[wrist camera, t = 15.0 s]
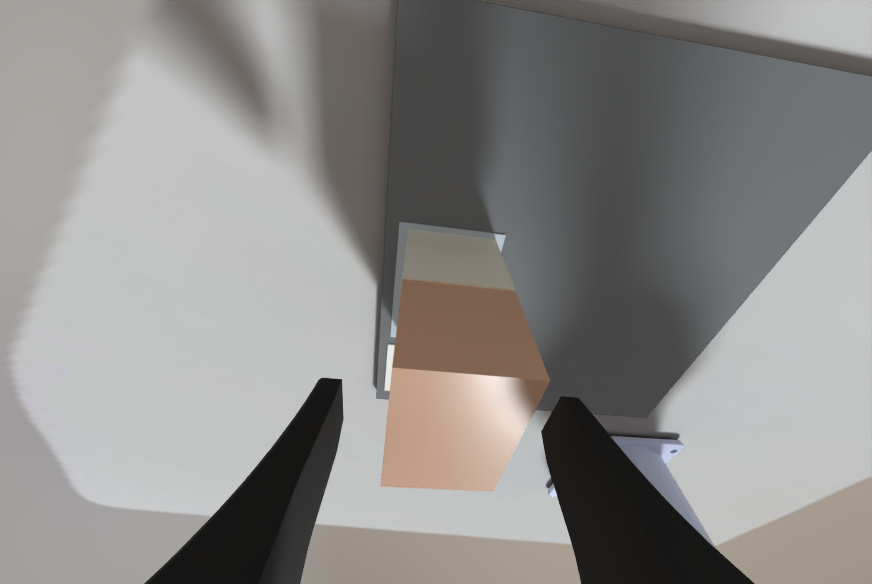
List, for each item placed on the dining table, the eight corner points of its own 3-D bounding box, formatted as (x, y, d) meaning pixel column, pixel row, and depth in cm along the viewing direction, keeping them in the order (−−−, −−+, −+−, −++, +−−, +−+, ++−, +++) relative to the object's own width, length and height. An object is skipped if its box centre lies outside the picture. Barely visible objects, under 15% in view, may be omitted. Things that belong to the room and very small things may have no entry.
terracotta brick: (478, 397, 15) (493, 491, 12) (391, 391, 14) (380, 486, 11) (515, 291, 12) (550, 380, 8) (402, 278, 11) (392, 367, 8)
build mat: (641, 410, 23) (647, 419, 23) (377, 390, 22) (375, 400, 21) (905, 86, 12) (930, 87, 12) (399, -11, 10) (398, -16, 10)
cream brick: (470, 336, 18) (479, 396, 15) (398, 330, 18) (391, 390, 14) (495, 239, 15) (515, 288, 11) (408, 229, 14) (402, 277, 11)
